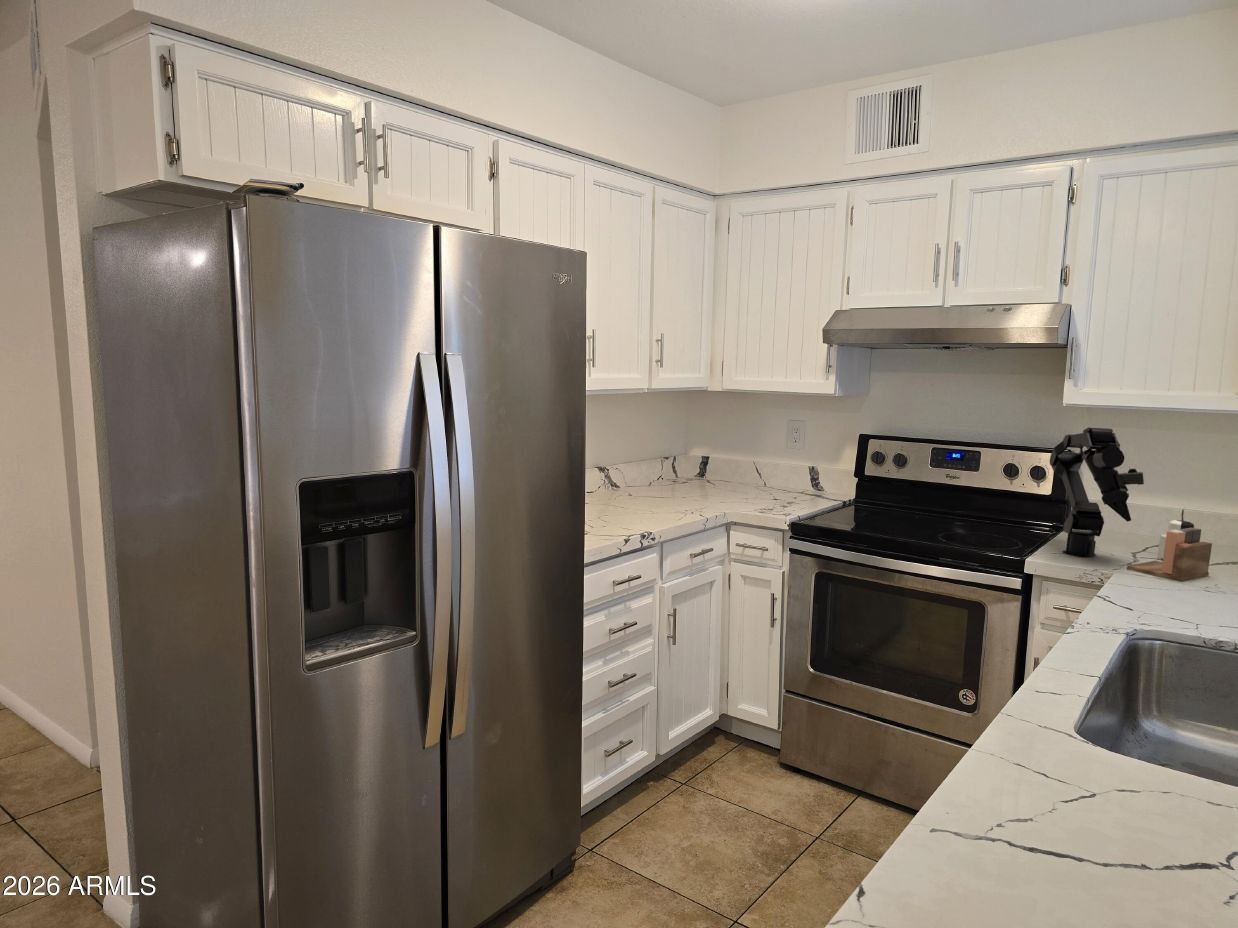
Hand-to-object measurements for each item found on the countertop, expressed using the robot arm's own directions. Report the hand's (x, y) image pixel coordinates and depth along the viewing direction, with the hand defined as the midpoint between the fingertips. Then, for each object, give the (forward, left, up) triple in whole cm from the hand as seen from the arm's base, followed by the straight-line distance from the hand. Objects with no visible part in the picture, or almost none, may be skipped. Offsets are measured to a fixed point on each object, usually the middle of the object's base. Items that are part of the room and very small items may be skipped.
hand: (1129, 520), depth 228 cm
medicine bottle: (+5, +21, -13) cm, 25 cm away
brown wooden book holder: (+10, +2, -12) cm, 16 cm away
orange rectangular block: (+13, -3, -11) cm, 18 cm away
